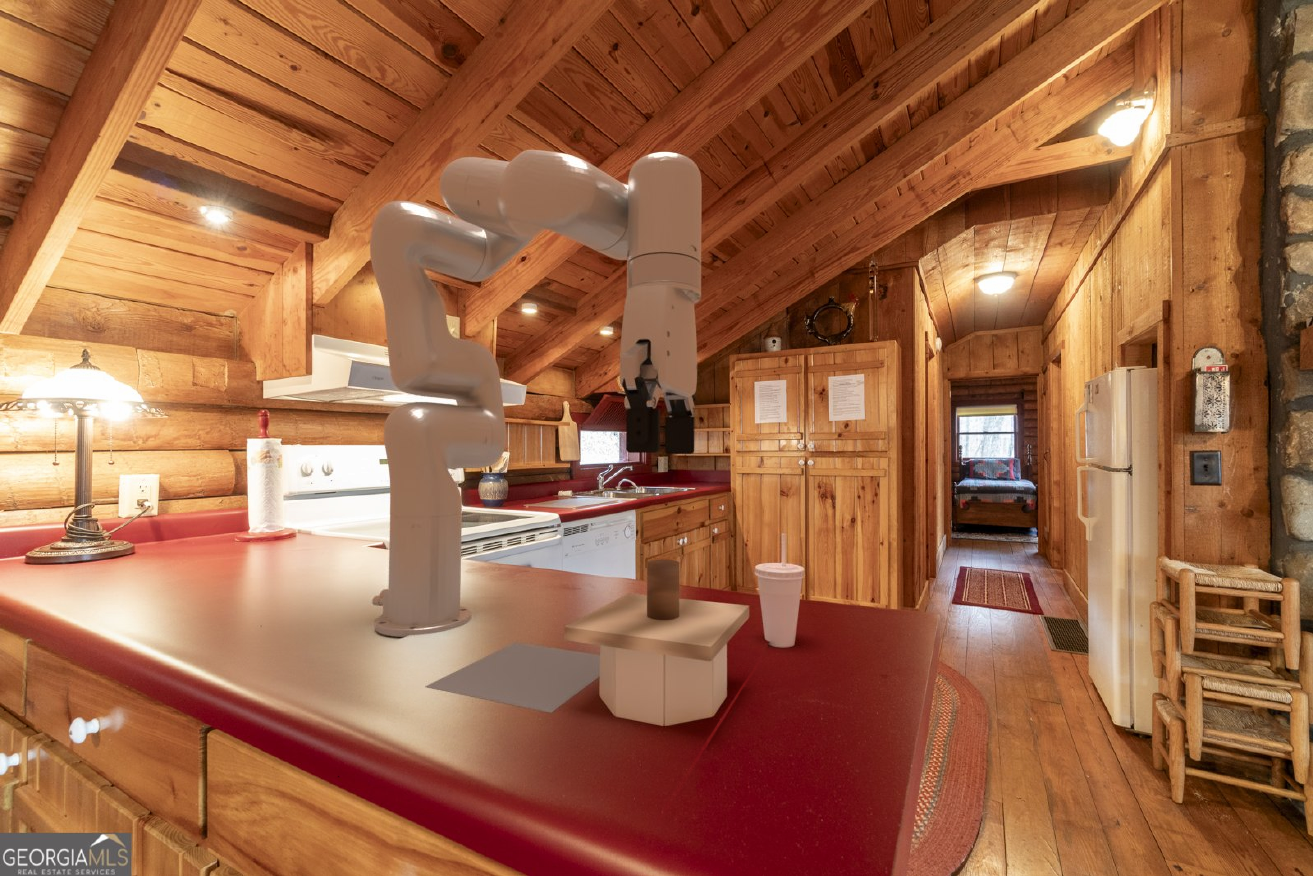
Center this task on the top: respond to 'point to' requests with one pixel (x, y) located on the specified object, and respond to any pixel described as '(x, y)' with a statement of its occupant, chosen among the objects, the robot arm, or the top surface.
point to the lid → (661, 620)
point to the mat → (525, 676)
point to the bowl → (661, 685)
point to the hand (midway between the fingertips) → (662, 453)
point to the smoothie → (780, 599)
